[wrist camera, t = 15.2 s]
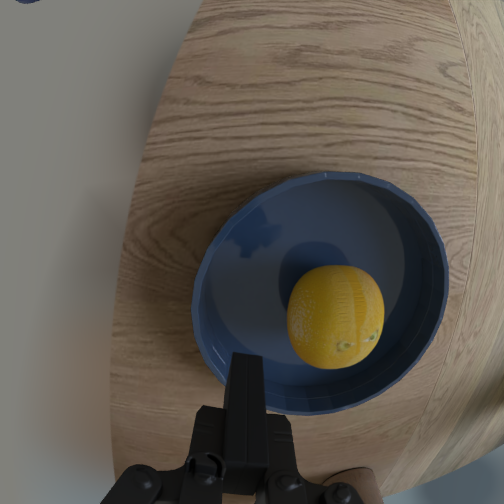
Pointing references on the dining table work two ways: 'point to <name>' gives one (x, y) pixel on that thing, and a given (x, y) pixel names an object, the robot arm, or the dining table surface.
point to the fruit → (335, 316)
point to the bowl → (305, 259)
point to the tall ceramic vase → (360, 484)
